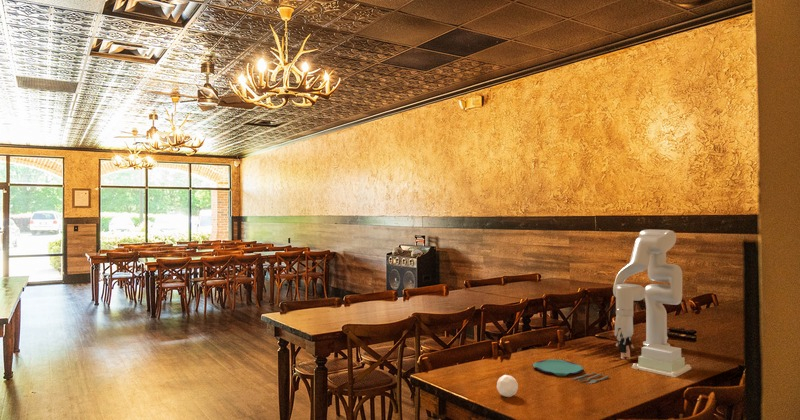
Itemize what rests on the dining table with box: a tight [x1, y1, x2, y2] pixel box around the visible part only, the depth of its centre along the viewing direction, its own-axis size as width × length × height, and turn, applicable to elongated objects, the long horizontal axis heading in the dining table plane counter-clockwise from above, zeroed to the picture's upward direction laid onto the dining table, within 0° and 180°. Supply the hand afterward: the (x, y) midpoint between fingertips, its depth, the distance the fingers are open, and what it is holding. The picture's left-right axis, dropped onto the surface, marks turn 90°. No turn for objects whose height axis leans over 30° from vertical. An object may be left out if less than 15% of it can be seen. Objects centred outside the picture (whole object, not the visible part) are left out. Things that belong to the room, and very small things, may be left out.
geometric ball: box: [496, 374, 519, 398], centre depth 193 cm, size 8×8×8 cm
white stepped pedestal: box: [631, 343, 692, 378], centre depth 229 cm, size 18×18×9 cm
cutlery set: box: [532, 358, 610, 385], centre depth 222 cm, size 20×30×2 cm, turn 35°
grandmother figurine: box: [615, 336, 635, 360], centre depth 245 cm, size 8×4×13 cm, turn 80°
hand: (624, 351), depth 245 cm, fingers closed on grandmother figurine, 3 cm apart
